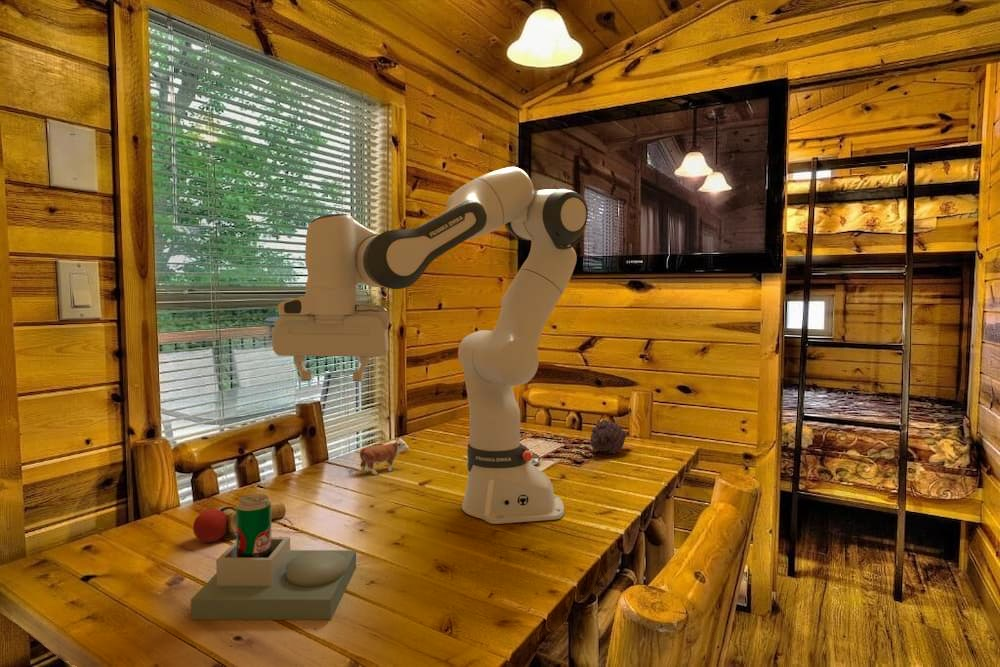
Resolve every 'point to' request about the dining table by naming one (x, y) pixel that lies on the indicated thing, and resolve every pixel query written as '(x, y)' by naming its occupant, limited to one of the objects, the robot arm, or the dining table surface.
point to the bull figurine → (381, 454)
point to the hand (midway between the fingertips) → (332, 380)
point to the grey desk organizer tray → (275, 585)
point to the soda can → (253, 527)
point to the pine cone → (608, 437)
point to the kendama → (223, 522)
